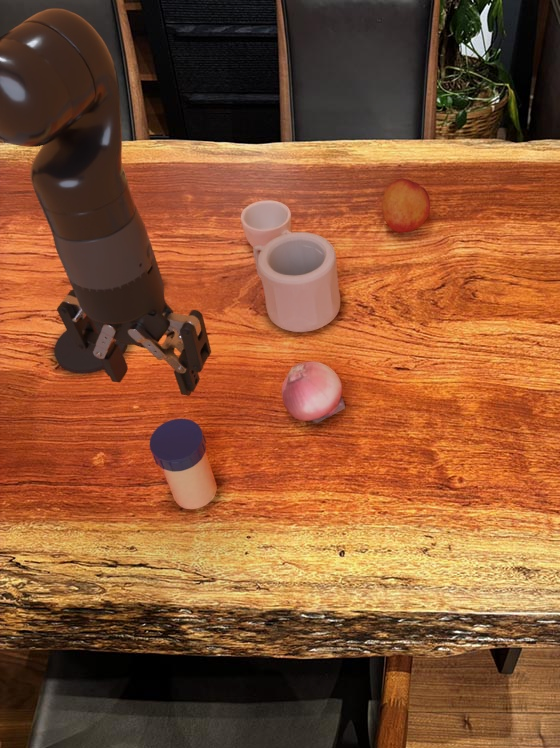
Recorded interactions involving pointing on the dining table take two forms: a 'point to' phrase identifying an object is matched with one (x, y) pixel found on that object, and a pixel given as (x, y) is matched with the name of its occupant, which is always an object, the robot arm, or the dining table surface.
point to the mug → (299, 280)
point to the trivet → (78, 355)
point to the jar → (192, 485)
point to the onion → (312, 392)
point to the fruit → (405, 205)
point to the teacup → (265, 221)
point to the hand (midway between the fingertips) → (155, 382)
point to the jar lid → (178, 445)
